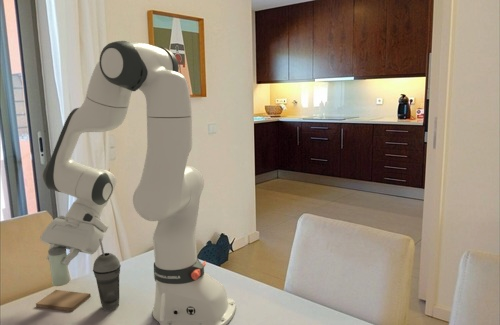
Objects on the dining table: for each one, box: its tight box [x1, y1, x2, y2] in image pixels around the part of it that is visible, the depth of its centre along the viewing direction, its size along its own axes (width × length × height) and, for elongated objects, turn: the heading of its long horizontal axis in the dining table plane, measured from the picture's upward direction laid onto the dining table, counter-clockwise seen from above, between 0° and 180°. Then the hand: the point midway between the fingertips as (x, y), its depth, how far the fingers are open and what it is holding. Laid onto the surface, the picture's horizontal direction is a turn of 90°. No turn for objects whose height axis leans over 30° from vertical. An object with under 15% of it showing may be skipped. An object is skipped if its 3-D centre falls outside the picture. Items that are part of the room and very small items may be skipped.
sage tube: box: [47, 246, 70, 287], centre depth 115 cm, size 5×5×10 cm
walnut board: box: [35, 289, 92, 312], centre depth 116 cm, size 12×8×1 cm, turn 76°
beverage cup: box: [92, 238, 122, 312], centre depth 111 cm, size 7×7×20 cm
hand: (56, 262), depth 114 cm, fingers closed on sage tube, 4 cm apart
